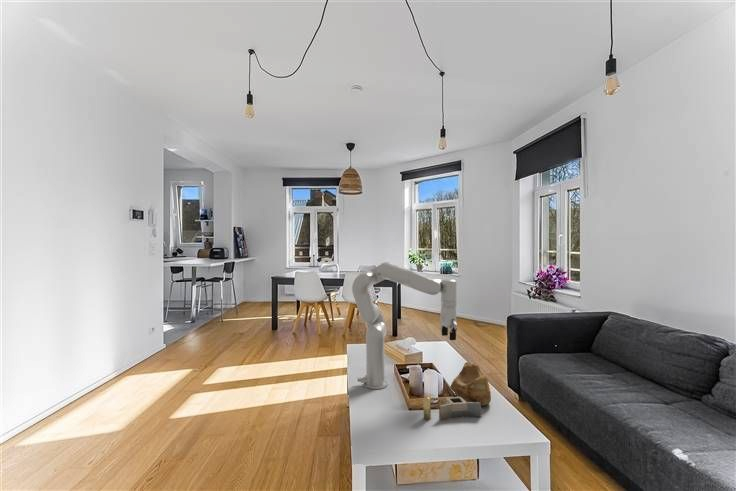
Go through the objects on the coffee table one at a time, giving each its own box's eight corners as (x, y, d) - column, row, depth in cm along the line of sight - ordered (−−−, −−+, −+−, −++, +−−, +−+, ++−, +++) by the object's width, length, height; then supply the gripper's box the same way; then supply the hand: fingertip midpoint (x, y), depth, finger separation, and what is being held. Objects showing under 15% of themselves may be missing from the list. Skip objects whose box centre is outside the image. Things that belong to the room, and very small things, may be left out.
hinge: (439, 420, 160) (439, 406, 160) (433, 412, 169) (433, 398, 169) (481, 417, 164) (481, 403, 164) (472, 409, 172) (472, 395, 172)
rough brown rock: (446, 390, 195) (444, 362, 195) (478, 387, 196) (476, 359, 195) (458, 412, 172) (455, 379, 172) (494, 408, 173) (492, 376, 172)
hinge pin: (424, 420, 161) (424, 399, 161) (422, 417, 164) (422, 396, 163) (431, 420, 161) (431, 398, 161) (429, 416, 164) (429, 395, 164)
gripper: (435, 301, 202) (435, 334, 202) (449, 306, 185) (448, 342, 185) (448, 301, 203) (448, 333, 203) (463, 306, 186) (463, 341, 186)
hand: (448, 337), depth 194 cm, fingers open, 9 cm apart
